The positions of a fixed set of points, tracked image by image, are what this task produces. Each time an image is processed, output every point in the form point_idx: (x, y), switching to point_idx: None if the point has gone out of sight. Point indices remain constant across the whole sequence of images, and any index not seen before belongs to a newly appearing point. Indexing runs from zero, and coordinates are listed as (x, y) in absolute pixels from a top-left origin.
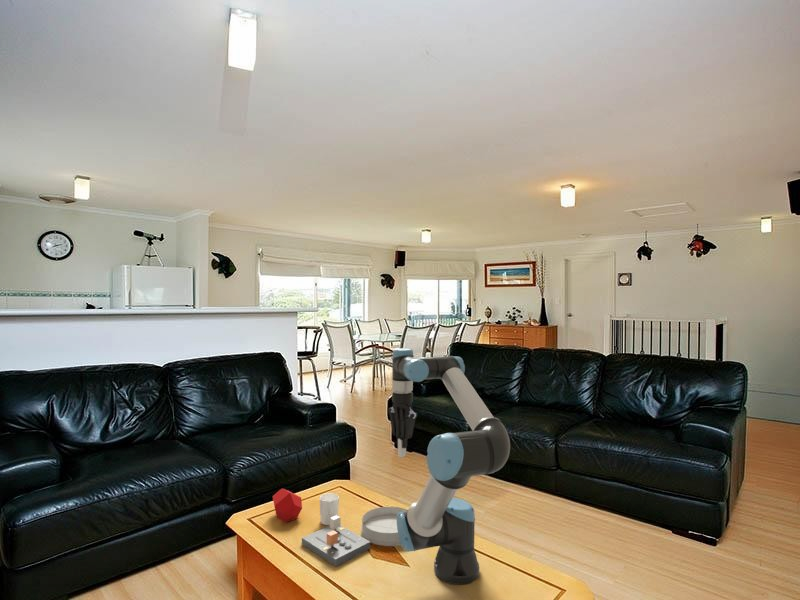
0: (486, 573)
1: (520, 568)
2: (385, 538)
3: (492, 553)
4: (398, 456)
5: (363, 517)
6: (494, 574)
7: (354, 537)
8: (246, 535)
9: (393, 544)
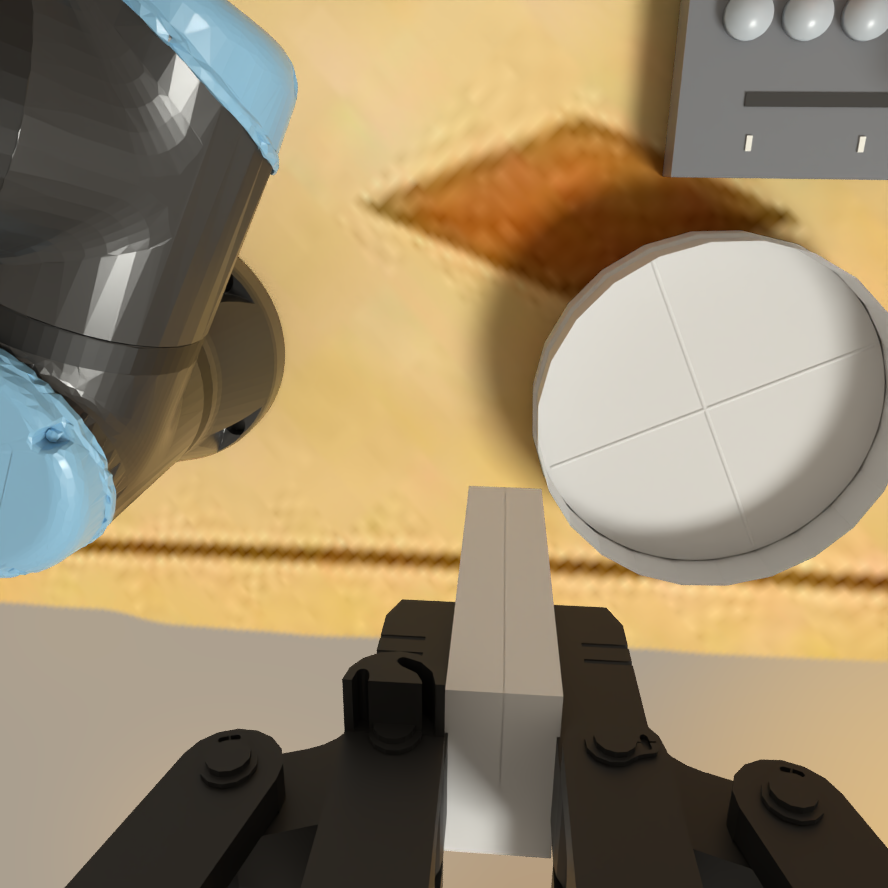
0: None
1: None
2: (617, 274)
3: (166, 574)
4: (526, 491)
5: None
6: None
7: (792, 137)
8: None
9: (573, 299)
